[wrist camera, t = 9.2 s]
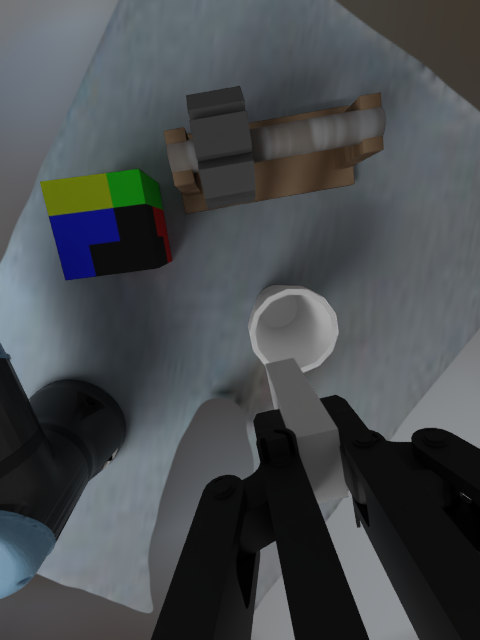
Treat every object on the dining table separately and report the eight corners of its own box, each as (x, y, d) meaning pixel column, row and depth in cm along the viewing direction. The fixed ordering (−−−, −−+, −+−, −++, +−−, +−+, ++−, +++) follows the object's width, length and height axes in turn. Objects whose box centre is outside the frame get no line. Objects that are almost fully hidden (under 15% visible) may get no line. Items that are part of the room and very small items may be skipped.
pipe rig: (186, 213, 44) (173, 207, 33) (171, 139, 42) (151, 105, 31) (351, 184, 44) (393, 168, 33) (345, 108, 42) (388, 63, 31)
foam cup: (253, 266, 46) (263, 278, 34) (317, 282, 47) (349, 299, 35) (237, 330, 49) (240, 364, 36) (297, 344, 49) (322, 382, 37)
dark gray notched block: (210, 213, 40) (203, 198, 30) (194, 123, 38) (181, 75, 28) (251, 206, 40) (258, 189, 30) (237, 115, 38) (239, 65, 28)
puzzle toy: (99, 270, 46) (65, 280, 36) (81, 193, 43) (39, 181, 34) (172, 260, 46) (157, 268, 36) (158, 183, 43) (138, 168, 34)
